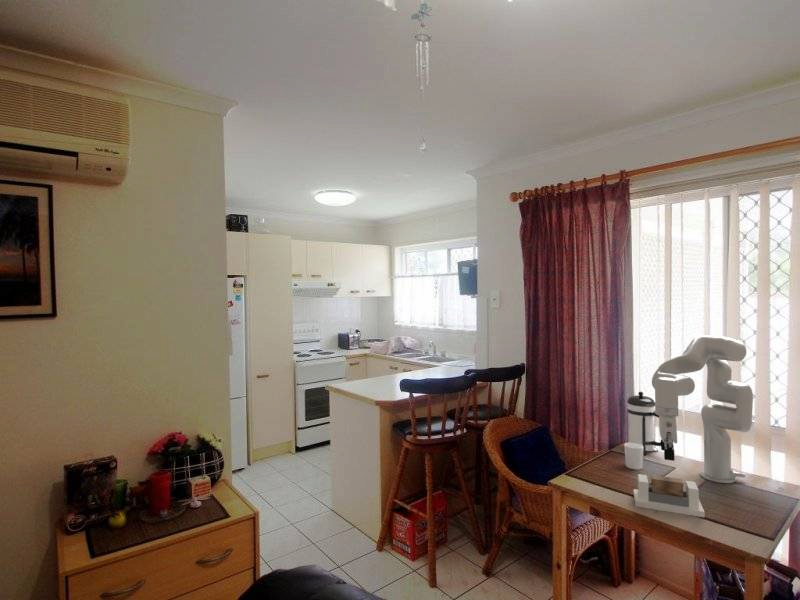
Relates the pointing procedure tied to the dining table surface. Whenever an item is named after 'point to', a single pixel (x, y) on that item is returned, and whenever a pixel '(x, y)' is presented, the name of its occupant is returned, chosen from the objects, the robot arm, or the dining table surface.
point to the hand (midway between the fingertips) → (667, 455)
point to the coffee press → (641, 422)
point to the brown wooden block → (666, 485)
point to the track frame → (669, 499)
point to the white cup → (633, 455)
